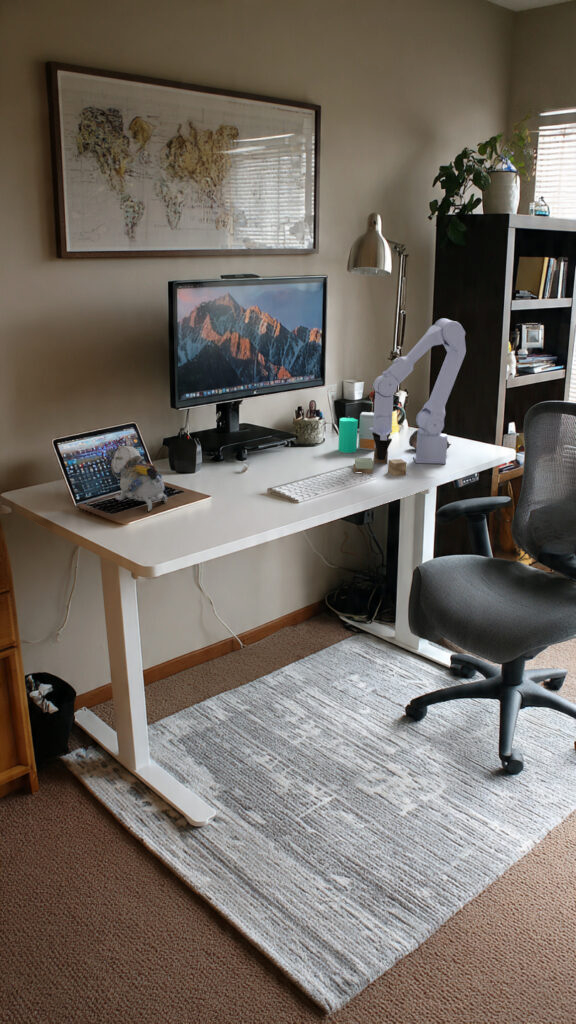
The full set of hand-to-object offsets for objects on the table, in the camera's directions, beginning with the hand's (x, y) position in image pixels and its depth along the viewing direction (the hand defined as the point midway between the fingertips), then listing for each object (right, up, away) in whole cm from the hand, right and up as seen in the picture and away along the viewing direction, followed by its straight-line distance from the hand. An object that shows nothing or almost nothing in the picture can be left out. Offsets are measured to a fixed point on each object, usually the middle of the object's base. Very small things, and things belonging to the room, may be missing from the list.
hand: (380, 457), depth 263 cm
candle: (-10, +3, +13) cm, 16 cm away
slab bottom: (-6, -5, -10) cm, 13 cm away
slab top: (-6, -3, -10) cm, 12 cm away
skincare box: (-2, +4, +16) cm, 16 cm away
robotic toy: (-69, -15, -43) cm, 82 cm away
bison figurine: (+17, +3, +14) cm, 22 cm away
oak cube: (+4, -6, -12) cm, 14 cm away
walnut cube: (0, -1, 0) cm, 2 cm away
